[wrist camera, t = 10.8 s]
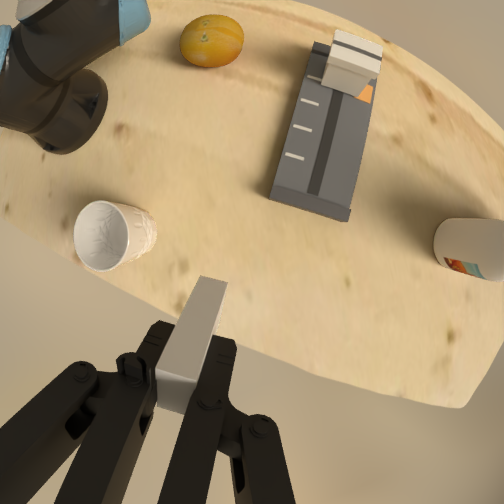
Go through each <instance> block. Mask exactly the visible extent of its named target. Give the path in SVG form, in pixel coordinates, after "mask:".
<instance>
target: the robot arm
mask: <svg viewBox="0 0 504 504" xmlns="http://www.w3.org/2000/svg"><path fill="white" fill-rule="evenodd" d="M16 19H18V21H20V23H19V24H18V25H17V26H16V27H15V28H13V29H12V28H11V26H10V25H1V26H0V126H2V127H5V128H9V129H13V130H16V131H20V132H23V133H26V134H28V135H29V136H30V137H31V138H32V139H33V140H34V141H35V142H36V143H37V144H38V145H40V146H41V147H42V148H43V149H44V150H46V151H48V152H51V153H55V154H59V155H63V154H68V153H71V152H73V151H75V150H77V149H78V148H80V147H81V146H82V145H83V144H85V143H86V142H87V141H88V140H89V139H90V137H91V136H92V135H93V134H94V132H95V131H96V129H97V128H98V126H99V124H100V123H101V120H102V118H103V116H104V113H105V110H106V107H107V101H108V91H107V86H106V84H105V82H104V80H103V79H102V78H101V77H100V76H98V75H97V74H96V73H94V72H93V71H91V70H88V69H82V68H83V67H85V66H86V65H88V64H89V63H91V62H93V61H94V60H96V59H97V58H99V57H100V56H102V55H104V54H105V53H107V52H109V51H110V50H112V49H114V48H116V47H117V46H122V45H124V43H125V42H126V41H128V40H130V39H132V38H133V37H135V36H137V35H139V34H141V33H142V32H144V31H145V30H146V29H147V28H148V27H149V25H150V22H151V15H150V11H149V8H148V5H147V1H146V0H18V7H17V12H16ZM227 285H228V282H224V281H220V280H216V279H212V278H208V277H204V276H201V275H200V277H199V279H198V281H197V283H196V285H195V287H194V289H193V291H192V293H191V295H190V297H189V299H188V301H187V303H186V305H185V307H184V309H183V311H182V313H181V315H180V317H179V319H178V321H177V323H176V325H174V324H170V323H167V322H163V321H160V320H159V321H158V322H156V323H155V324H153V325H152V326H151V327H150V329H149V330H148V332H147V335H146V336H145V338H144V339H143V342H142V343H141V345H140V346H139V348H138V350H137V352H136V353H134V352H129V353H124V354H122V355H120V356H119V357H118V358H117V359H116V364H117V369H118V372H102V371H97V370H96V368H95V367H94V366H93V365H92V364H90V363H88V362H85V361H79V362H74V363H73V364H71V365H70V366H68V367H67V368H66V369H65V370H64V371H63V372H62V373H61V374H59V375H58V376H57V377H56V378H55V379H54V380H52V381H51V382H50V383H49V384H48V385H47V386H46V387H45V388H44V389H42V391H40V392H39V393H38V394H37V395H36V396H35V397H34V398H32V399H31V401H29V402H28V403H27V404H26V405H25V406H24V407H23V408H21V410H19V411H18V412H17V413H16V414H15V415H14V416H13V417H12V418H11V419H10V420H9V421H7V422H6V423H5V424H4V425H3V426H2V427H1V428H0V504H27V502H28V501H29V500H30V499H31V498H32V497H33V496H34V495H35V494H36V493H37V491H38V490H39V489H40V488H41V487H42V486H43V485H44V484H45V483H46V481H47V480H48V479H49V478H50V477H51V476H52V475H53V474H54V473H55V472H56V470H57V469H58V468H59V467H60V466H61V465H62V464H63V463H64V462H65V460H66V459H67V458H68V457H69V456H70V455H71V454H72V453H73V452H74V450H75V449H76V448H77V447H78V446H79V445H80V444H81V445H80V447H79V449H78V451H77V453H76V456H75V458H74V460H73V462H72V464H71V466H70V468H69V471H68V473H67V475H66V477H65V479H64V481H63V484H62V486H61V488H60V490H59V493H58V495H57V497H56V500H55V502H54V504H121V503H122V500H123V497H124V495H125V492H126V489H127V486H128V483H129V480H130V477H131V475H132V472H133V469H134V467H135V464H136V461H137V458H138V456H139V453H140V450H141V447H142V445H143V442H144V439H145V437H146V434H147V432H148V429H149V426H150V424H151V421H152V419H153V413H154V412H153V409H154V407H155V404H156V402H157V407H161V408H164V409H167V410H170V411H173V412H177V413H180V414H183V415H184V419H183V422H182V425H181V428H180V431H179V435H178V438H177V441H176V444H175V447H174V450H173V454H172V457H171V460H170V463H169V467H168V470H167V473H166V476H165V480H164V483H163V487H162V490H161V493H160V496H159V500H158V503H157V504H206V499H207V494H208V489H209V485H210V480H211V476H212V471H213V466H214V461H215V456H216V452H217V450H218V451H220V452H222V453H224V454H226V455H228V456H229V457H230V465H231V473H232V481H233V488H234V497H235V503H236V504H296V503H295V499H294V494H293V490H292V486H291V482H290V478H289V473H288V469H287V465H286V461H285V456H284V452H283V447H282V443H281V439H280V434H279V430H278V427H277V425H276V423H275V422H274V421H273V420H272V419H271V418H270V417H267V416H265V415H260V414H255V415H250V416H248V415H246V414H244V413H242V412H241V411H239V410H237V409H236V408H235V407H234V406H233V405H232V404H231V402H230V401H229V398H228V391H229V386H230V381H231V376H232V371H233V366H234V361H235V356H236V351H237V347H236V344H235V341H234V340H233V339H228V338H224V337H220V336H216V333H217V329H218V326H219V323H220V319H221V314H222V309H223V304H224V299H225V295H226V290H227Z"/></svg>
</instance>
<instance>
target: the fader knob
mask: <svg viewBox="0 0 504 504" xmlns="http://www.w3.org/2000/svg"><path fill="white" fill-rule="evenodd" d="M382 50H383V46H381V45H379V44H376V43H374V42H371V41H369V40H366V39H364V38H361V37H358V36H355V35H353V34H350V33H347V32H344V31H341V30H338V29H336V31H335V33H334V36H333V40H332V44H331V48H330V52H329V56H328V60H327V62H326V66H325V70H324V74H323V78H322V82H321V85H323V86H326V87H330V88H333V89H336V90H338V91H341V92H344V93H347V94H350V95H352V96H355V97H358V96H359V95H360V93H361V92H362V91H363V89H364V88H365V87H366V85H367V84H368V83H369V81H370V80H371V79H374V80H375V79H376V78H377V76H378V75H379V73H380V65H381V60H382Z"/></svg>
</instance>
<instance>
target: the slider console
mask: <svg viewBox="0 0 504 504" xmlns="http://www.w3.org/2000/svg"><path fill="white" fill-rule="evenodd" d="M330 48H331V46H328V45H325V44H322V43H318V42H315V41H314V44H313V47H312V51H311V55H310V58H309V62H308V65H307V69H306V72H305V75H304V79H303V82H302V86H301V89H300V93H299V96H298V100H297V103H296V107H295V110H294V114H293V117H292V121H291V124H290V128H289V131H288V134H287V138H286V141H285V145H284V148H283V152H282V155H281V159H280V162H279V166H278V169H277V173H276V176H275V179H274V183H273V186H272V189H271V193H270V196H269V200H272V201H276V202H279V203H283V204H286V205H289V206H293V207H296V208H299V209H302V210H306V211H309V212H312V213H315V214H318V215H322V216H325V217H328V218H331V219H334V220H337V221H340V222H348V219H349V216H350V212H351V209H349V208H350V204H351V200H352V196H353V192H354V188H355V184H356V180H357V176H358V172H359V168H360V164H361V159H362V155H363V150H364V146H365V141H366V136H367V132H368V127H369V122H370V116H371V111H372V106H373V100H374V94H375V88H376V82H377V78H376V79H375V80H374V79H371V80H370V81H369V83H368V84H367V85H366V87H365V88H364V89H363V91H362V92H361V93H360V95H359V96H358V97H355V96H352V95H350V94H347V93H344V92H341V91H338V90H336V89H333V88H330V87H326V86H323V85H321V82H322V78H323V74H324V70H325V66H326V62H327V60H328V56H329V52H330ZM380 67H381V65H380Z"/></svg>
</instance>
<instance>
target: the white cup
mask: <svg viewBox="0 0 504 504" xmlns="http://www.w3.org/2000/svg"><path fill="white" fill-rule="evenodd" d="M156 237H157V227H156V223H155V220H154V219H153V218H152V216H151V215H150V214H149V213H148V212H146V211H144V210H142V209H140V208H136V207H133V206H128V205H124V204H120V203H114V202H109V201H104V200H98V201H94V202H91V203H89V204H88V205H86V206H85V207H84V208H83V209H82V210H81V212H80V213H79V215H78V217H77V219H76V221H75V225H74V230H73V241H74V246H75V250H76V252H77V255H78V256H79V258H80V260H81V261H82V262H83V263H84V264H85V265H86V266H87V267H88V268H90V269H92V270H94V271H98V272H106V271H110V270H112V269H114V268H117V267H119V266H121V265H124V264H126V263H128V262H131V261H133V260H135V259H137V258H139V257H140V256H142V255H144V254H146V253H147V252H149V251H150V250H151V249H152V247H153V245H154V244H155V242H156Z"/></svg>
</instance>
